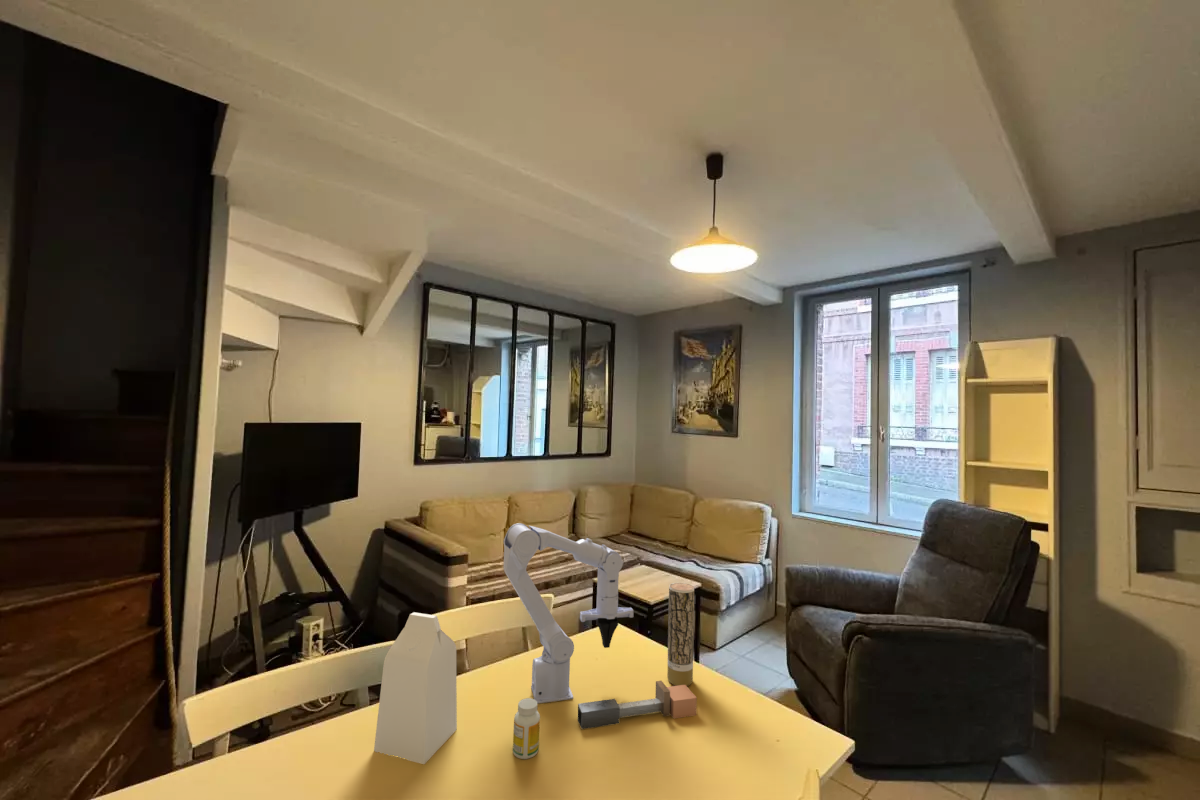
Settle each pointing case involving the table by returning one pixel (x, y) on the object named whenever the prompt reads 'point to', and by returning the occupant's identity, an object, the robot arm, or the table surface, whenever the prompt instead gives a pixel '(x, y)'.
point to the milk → (417, 691)
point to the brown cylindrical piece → (680, 634)
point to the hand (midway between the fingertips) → (606, 646)
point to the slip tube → (649, 703)
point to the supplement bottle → (526, 729)
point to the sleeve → (598, 713)
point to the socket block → (682, 701)
